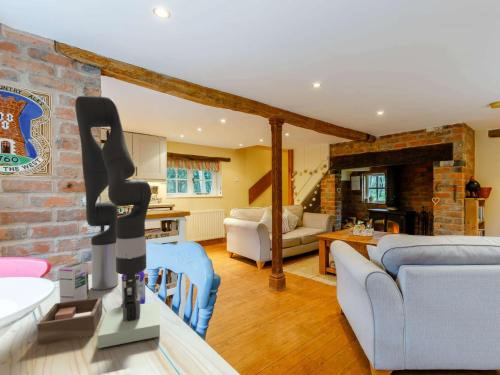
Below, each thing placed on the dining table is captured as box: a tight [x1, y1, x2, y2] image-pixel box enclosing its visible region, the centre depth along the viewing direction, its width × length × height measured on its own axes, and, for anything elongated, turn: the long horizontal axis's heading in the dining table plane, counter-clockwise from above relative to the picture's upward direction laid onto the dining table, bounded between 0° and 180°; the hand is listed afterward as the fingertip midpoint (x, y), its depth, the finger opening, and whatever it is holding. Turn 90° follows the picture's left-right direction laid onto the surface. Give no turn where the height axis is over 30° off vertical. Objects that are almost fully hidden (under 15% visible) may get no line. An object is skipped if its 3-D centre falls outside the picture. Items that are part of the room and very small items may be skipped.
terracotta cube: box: [55, 307, 76, 320], centre depth 74 cm, size 4×4×4 cm
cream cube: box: [74, 312, 92, 317], centre depth 71 cm, size 4×4×4 cm
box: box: [37, 296, 103, 346], centre depth 72 cm, size 12×12×6 cm
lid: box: [96, 294, 161, 349], centre depth 71 cm, size 14×14×8 cm
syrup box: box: [58, 261, 90, 303], centre depth 85 cm, size 6×6×14 cm
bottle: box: [120, 270, 146, 304], centre depth 87 cm, size 7×6×17 cm
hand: (132, 315), depth 71 cm, fingers closed on lid, 4 cm apart
